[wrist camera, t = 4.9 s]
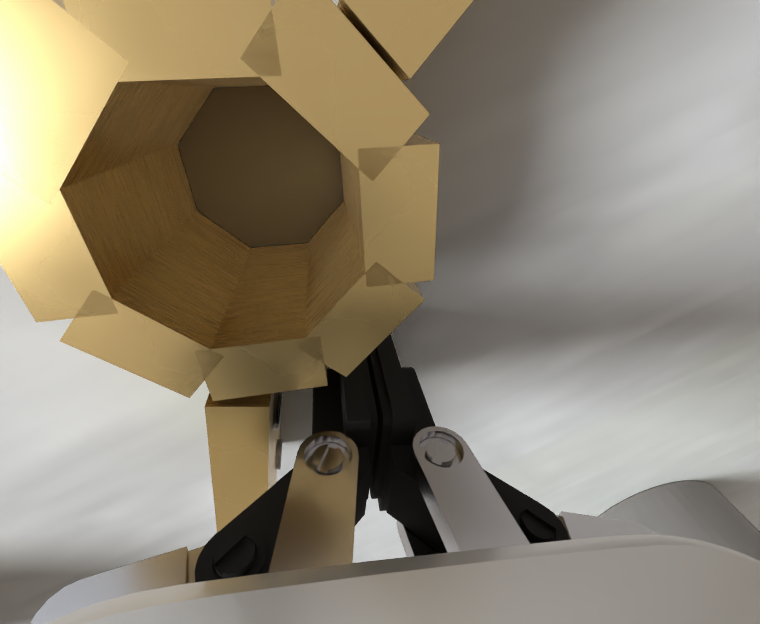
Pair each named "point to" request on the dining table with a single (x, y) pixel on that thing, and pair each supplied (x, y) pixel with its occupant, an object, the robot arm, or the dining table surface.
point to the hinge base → (173, 194)
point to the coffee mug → (690, 515)
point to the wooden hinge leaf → (242, 450)
